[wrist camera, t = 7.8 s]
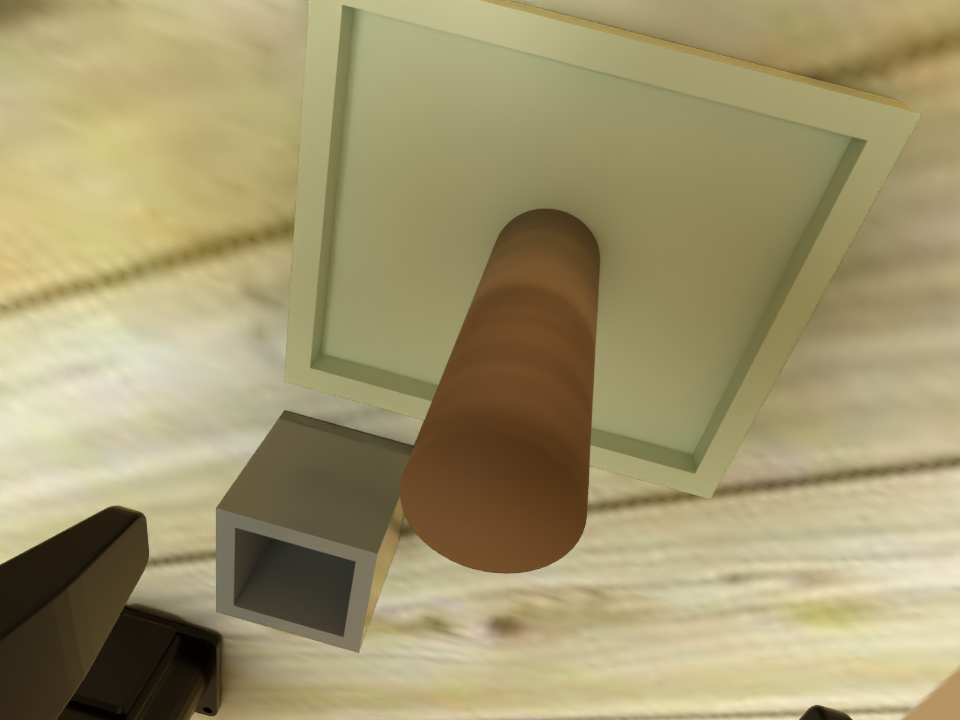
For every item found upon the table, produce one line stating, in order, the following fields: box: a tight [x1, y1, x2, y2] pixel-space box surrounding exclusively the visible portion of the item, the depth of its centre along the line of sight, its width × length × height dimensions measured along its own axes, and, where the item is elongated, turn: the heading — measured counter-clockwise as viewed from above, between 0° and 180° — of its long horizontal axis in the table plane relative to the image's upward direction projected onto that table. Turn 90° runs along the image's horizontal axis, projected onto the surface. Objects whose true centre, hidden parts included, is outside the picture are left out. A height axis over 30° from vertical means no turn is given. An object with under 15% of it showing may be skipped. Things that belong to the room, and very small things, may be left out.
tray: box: [284, 0, 922, 499], centre depth 19 cm, size 12×14×2 cm
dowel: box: [400, 208, 600, 573], centre depth 15 cm, size 3×3×10 cm
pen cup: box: [216, 411, 413, 653], centre depth 24 cm, size 5×5×5 cm
